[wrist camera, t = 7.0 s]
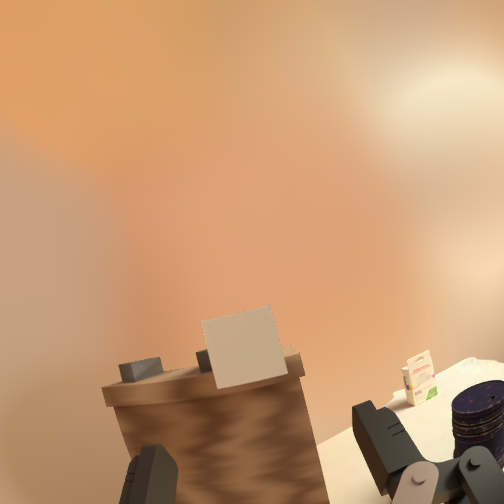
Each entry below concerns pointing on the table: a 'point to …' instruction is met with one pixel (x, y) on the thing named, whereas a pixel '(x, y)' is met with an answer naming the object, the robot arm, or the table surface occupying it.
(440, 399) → the table surface
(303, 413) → the tall stand
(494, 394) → the dark blue cylinder
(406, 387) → the ink box
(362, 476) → the table surface
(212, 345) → the bar
